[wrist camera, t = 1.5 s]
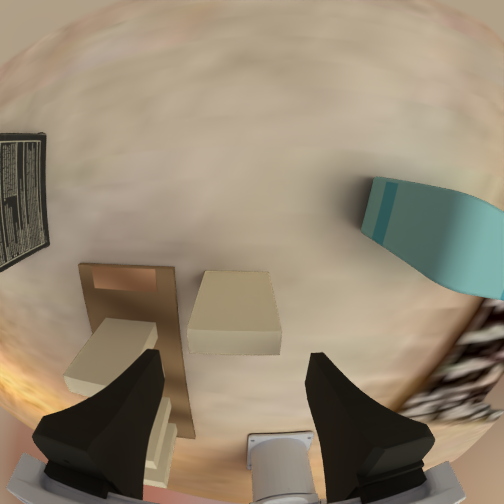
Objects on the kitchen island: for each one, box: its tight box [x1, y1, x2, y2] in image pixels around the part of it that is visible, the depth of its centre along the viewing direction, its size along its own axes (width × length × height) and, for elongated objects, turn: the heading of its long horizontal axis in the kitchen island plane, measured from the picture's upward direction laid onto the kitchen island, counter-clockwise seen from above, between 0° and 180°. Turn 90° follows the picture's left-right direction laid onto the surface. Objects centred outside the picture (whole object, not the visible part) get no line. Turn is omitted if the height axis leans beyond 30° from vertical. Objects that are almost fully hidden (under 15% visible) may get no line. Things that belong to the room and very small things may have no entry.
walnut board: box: [78, 263, 195, 439], centre depth 25 cm, size 22×9×1 cm, turn 178°
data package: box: [361, 177, 504, 300], centre depth 16 cm, size 12×4×12 cm, turn 79°
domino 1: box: [63, 318, 158, 397], centre depth 19 cm, size 2×5×8 cm, turn 88°
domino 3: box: [143, 423, 177, 488], centre depth 24 cm, size 2×5×8 cm, turn 88°
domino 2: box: [145, 397, 171, 469], centre depth 22 cm, size 2×5×8 cm, turn 88°
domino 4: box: [187, 271, 282, 355], centre depth 19 cm, size 2×5×8 cm, turn 88°
